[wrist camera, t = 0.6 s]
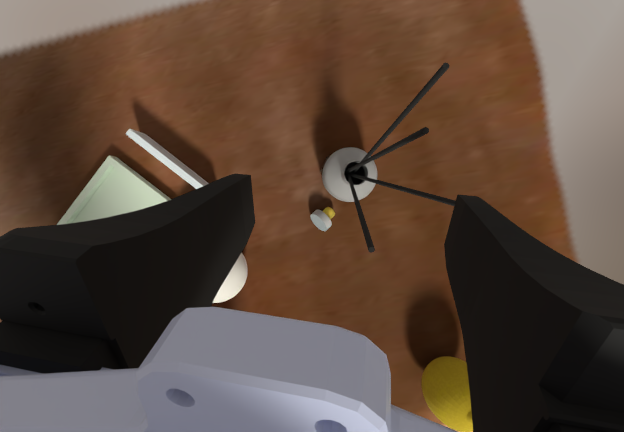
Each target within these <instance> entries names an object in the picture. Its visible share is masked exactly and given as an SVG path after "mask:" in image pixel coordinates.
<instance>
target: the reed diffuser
mask: <svg viewBox="0 0 624 432" xmlns="http://www.w3.org/2000/svg"><path fill="white" fill-rule="evenodd" d="M448 68H449V64H448V63H444V64H443V65H442V66H441V68H440V69H439V70H438V71H437V72H436V73H435V75H434V76H433V77H432V78H431V79H430V81H429V82H428V83H427V84H426V85H425V86H424V88H423V89H422V90H421V91H420V92H419V93H418V95H417V96H416V97H415V98H414V99H413V101H412V102H411V103H410V104H409V105H408V106H407V108H406V109H405V110H404V111H403V112H402V113H401V115H400V116H399V117H398V118H397V119H396V121H395V122H394V123H393V124H392V125H391V126H390V128H389V129H388V130H387V131H386V132H385V133H384V135H383V136H382V137H381V138H380V139H379V141H378V142H377V143H376V144H375V145H374V146H373V148H372V149H371V150H370V151H369V152H368V153H366V152H365V151H363V150H361V149H358V148H353V147H348V148H343V149H340V150H338V151H336V152H334V153H333V154H332V155H331V156H330V157H329V156H328V157H329V158H328V157H327V158H328V159H327V158H326V159H327V161H326V163H325V165H324V168H323V172H322V180H323V184H324V186H325V188H326V190H327V191H328V192H329V193H330V194H331V195H332V196H333V197H335V198H337V199H338V200H341V201H346V202H355V205H356V209H357V212H358V215H359V219H360V222H361V226H362V229H363V233H364V236H365V240H366V243H367V247H368V250H369V252H374V250H375V249H374V246H373V243H372V240H371V236H370V233H369V230H368V227H367V224H366V221H365V218H364V215H363V212H362V209H361V206H360V203H359V200H360V199H362V198H364V197H366V196H367V195H368V194H369V193H370V192H371V191H372V190H373V188H374V186H375V184H379V185H383V186H386V187H390V188H393V189H397V190H400V191H404V192H407V193H411V194H414V195H418V196H421V197H425V198H428V199H432V200H435V201H438V202H442V203H445V204H449V205H452V206H455V203H456V201H455V200H451V199H447V198H443V197H440V196H436V195H432V194H428V193H425V192H421V191H417V190H413V189H410V188H406V187H402V186H398V185H395V184H391V183H387V182H383V181H379V180H377V168H376V165H375V162H374V160H375V159H377V158H379V157H381V156H383V155H385V154H387V153H389V152H391V151H393V150H395V149H397V148H399V147H401V146H403V145H405V144H407V143H409V142H411V141H413V140H415V139H417V138H419V137H421V136H423V135H425V134H427V133H428V132H429V129H428V128H427V127H424V128H423V129H421V130H419V131H417V132H415V133H413V134H412V135H410V136H408V137H406V138H404V139H402V140H401V141H399V142H397V143H395V144H393V145H391V146H390V147H388V148H386V149H384V150H382V151H380V152H379V153H377V154H375V155H373V156H371V155H372V153H373V152H374V151H375V150H376V149H377V148H378V147H379V146H380V144H381V143H382V142H383V141H384V140H385V139H386V138H387V137H388V135H389V134H390V133H391V132H392V131H393V130H394V129H395V128H396V126H397V125H398V124H399V123H400V122H401V121H402V120H403V119H404V117H405V116H406V115H407V114H408V113H409V112H410V111H411V110H412V108H413V107H414V106H415V105H416V104H417V103H418V102H419V101H420V99H421V98H422V97H423V96H424V95H425V94H426V93H427V92H428V91H429V89H430V88H431V87H432V86H433V85H434V84H435V83H436V82H437V80H438V79H439V78H440V77H441V76H442V75H443V74H444V73H445V71H446V70H447V69H448ZM329 155H330V154H329ZM326 159H325V160H326ZM324 162H325V161H324ZM320 174H321V173H320ZM334 215H335V212H334V210H333V209H332V208H330V207H326V208H325V209H324V210H323V211H321V210H315V211H314V212H313V213H312V214H311V216H310V217H311V220H312V222H313V223H314V224H315V225H316V226H317V227H318V228H319V229H320V230H322V231H326V230H327V229H328V228H330V227H331V225H332V223H331V220H330V219H332V218H333V217H334Z"/></svg>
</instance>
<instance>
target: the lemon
mask: <svg viewBox="0 0 624 432" xmlns="http://www.w3.org/2000/svg"><path fill="white" fill-rule="evenodd" d="M421 385H422V391H423V395H424V398H425V400H426V402H427V404H428V406H429V408H430V409H431V411H432V412H433V413H434V414H435V415H436V417H437V418H438V419H439V420H440V421H441V422H443V423H444V424H445V425H447V426H448V427H450V428H452V429H454V430H457V431H461V432H470V431H473V423H472V412H471V400H470V390H469V381H468V371H467V363H466V362H465V361H463V360H461V359H459V358H455V357H450V356H445V357H439V358H436V359H434V360H433V361H431V362H430V363H429V364H428V365H427V367H426V368H425V370H424V372H423V375H422V384H421Z"/></svg>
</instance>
